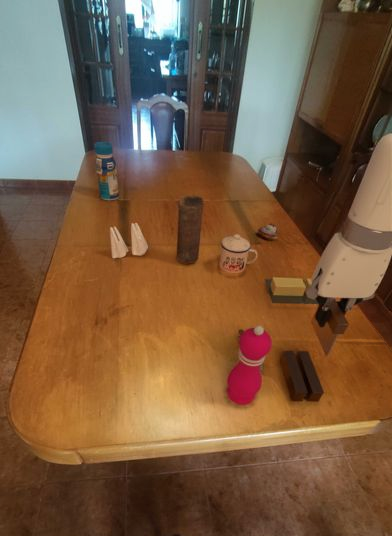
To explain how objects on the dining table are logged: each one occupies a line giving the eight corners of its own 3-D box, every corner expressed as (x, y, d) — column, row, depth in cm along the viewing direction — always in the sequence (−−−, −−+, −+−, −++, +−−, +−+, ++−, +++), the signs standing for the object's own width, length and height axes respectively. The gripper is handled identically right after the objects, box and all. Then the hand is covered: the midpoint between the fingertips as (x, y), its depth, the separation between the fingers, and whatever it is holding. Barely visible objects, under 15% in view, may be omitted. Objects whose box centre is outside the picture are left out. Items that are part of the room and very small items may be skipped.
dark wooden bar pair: (303, 360, 78) (308, 351, 75) (318, 401, 70) (324, 392, 67) (279, 360, 77) (283, 350, 75) (291, 401, 69) (296, 392, 67)
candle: (202, 263, 105) (208, 202, 91) (183, 268, 102) (186, 206, 88) (190, 252, 110) (194, 192, 95) (172, 257, 107) (173, 196, 92)
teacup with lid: (218, 275, 101) (223, 241, 93) (217, 260, 107) (221, 227, 99) (255, 277, 102) (263, 244, 93) (252, 262, 108) (259, 229, 99)
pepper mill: (217, 390, 70) (230, 323, 55) (240, 375, 73) (258, 308, 59) (241, 413, 66) (261, 347, 52) (263, 395, 70) (288, 329, 55)
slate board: (318, 284, 102) (320, 280, 101) (330, 307, 93) (332, 304, 92) (263, 282, 100) (264, 278, 99) (271, 306, 92) (272, 302, 91)
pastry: (281, 237, 122) (284, 225, 118) (268, 243, 118) (271, 230, 115) (265, 229, 126) (268, 217, 122) (252, 234, 122) (255, 221, 119)
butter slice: (311, 287, 98) (314, 278, 96) (315, 296, 95) (319, 287, 92) (303, 287, 98) (306, 278, 95) (307, 296, 94) (310, 287, 92)
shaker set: (148, 251, 108) (146, 219, 100) (149, 258, 106) (147, 225, 98) (112, 252, 107) (108, 220, 99) (112, 258, 104) (107, 226, 96)
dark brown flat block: (316, 322, 68) (330, 289, 62) (331, 356, 61) (349, 324, 55) (307, 321, 68) (320, 289, 62) (321, 356, 61) (337, 324, 55)
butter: (298, 287, 98) (302, 278, 95) (302, 296, 94) (306, 287, 92) (270, 286, 97) (272, 277, 95) (273, 295, 94) (275, 286, 91)
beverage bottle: (99, 193, 139) (91, 140, 125) (118, 193, 141) (113, 140, 127) (100, 201, 134) (92, 147, 119) (120, 200, 136) (115, 147, 121)
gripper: (406, 222, 51) (358, 310, 64) (310, 219, 50) (281, 309, 63) (432, 246, 46) (373, 336, 59) (325, 242, 45) (290, 335, 58)
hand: (326, 322), depth 61 cm, fingers closed on dark brown flat block, 2 cm apart
